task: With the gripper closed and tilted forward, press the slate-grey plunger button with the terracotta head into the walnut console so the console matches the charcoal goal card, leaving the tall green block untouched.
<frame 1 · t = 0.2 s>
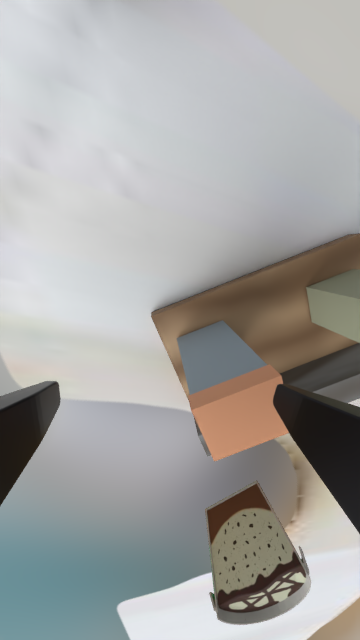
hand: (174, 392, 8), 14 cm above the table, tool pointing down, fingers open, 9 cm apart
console: (260, 316, 23), on the table
food container: (239, 503, 33), on the table
terracotta button: (219, 372, 17), point 7 cm above the table, slide at 0.0 cm
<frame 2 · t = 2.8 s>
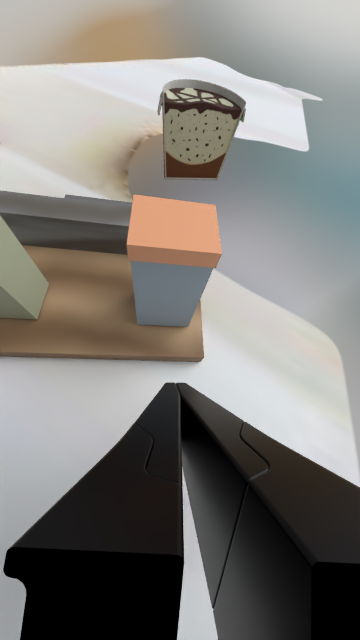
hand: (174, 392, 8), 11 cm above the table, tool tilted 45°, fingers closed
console: (96, 312, 22), on the table
food container: (187, 170, 37), on the table
terracotta button: (168, 277, 17), point 7 cm above the table, slide at 0.0 cm
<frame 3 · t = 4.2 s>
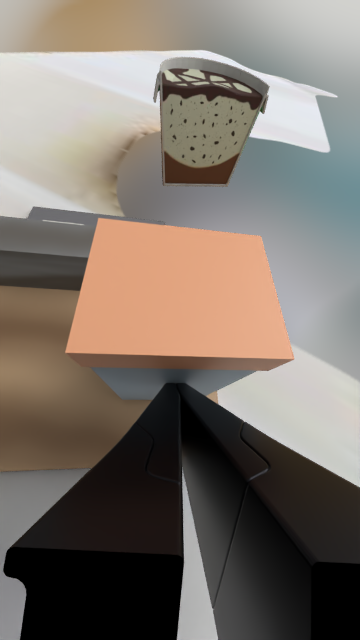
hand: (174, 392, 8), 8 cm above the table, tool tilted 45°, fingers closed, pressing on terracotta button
goal card: (96, 243, 21), on the table
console: (63, 382, 15), on the table
food container: (190, 174, 30), on the table
terracotta button: (168, 345, 10), point 7 cm above the table, slide at 0.6 cm, touching gripper
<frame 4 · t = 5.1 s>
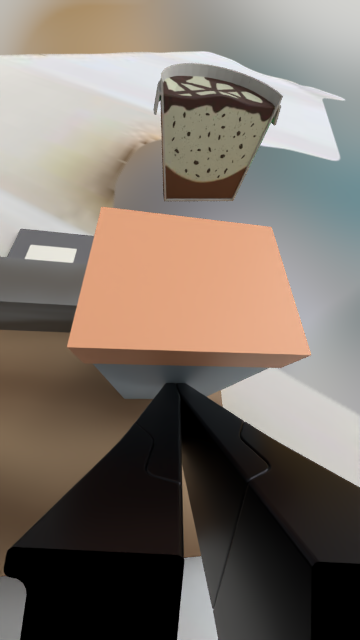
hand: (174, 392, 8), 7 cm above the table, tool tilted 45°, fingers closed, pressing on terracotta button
goal card: (90, 270, 19), on the table
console: (49, 444, 13), on the table
food container: (193, 187, 28), on the table
terracotta button: (172, 342, 10), point 7 cm above the table, slide at 4.5 cm, touching gripper
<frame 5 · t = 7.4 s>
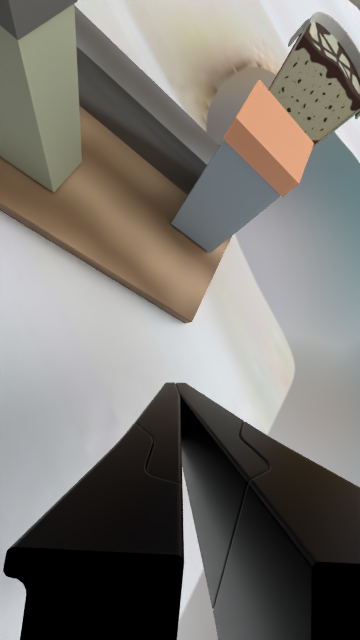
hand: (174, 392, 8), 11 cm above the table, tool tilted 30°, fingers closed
tall green block: (17, 77, 12), point 7 cm above the table, slide at 0.0 cm
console: (115, 223, 20), on the table
food container: (272, 133, 32), on the table
terracotta button: (228, 191, 17), point 7 cm above the table, slide at 4.5 cm
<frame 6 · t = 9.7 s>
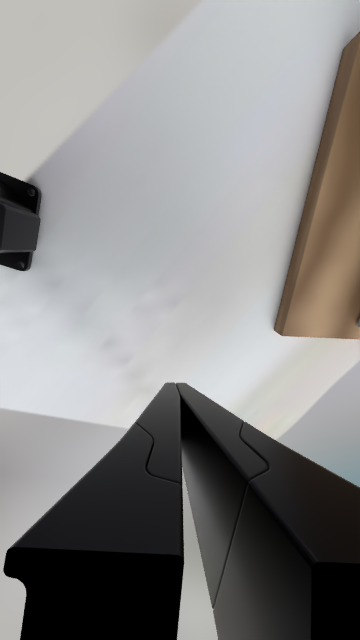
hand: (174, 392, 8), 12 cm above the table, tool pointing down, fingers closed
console: (351, 222, 19), on the table
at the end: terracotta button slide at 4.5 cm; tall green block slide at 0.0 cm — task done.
